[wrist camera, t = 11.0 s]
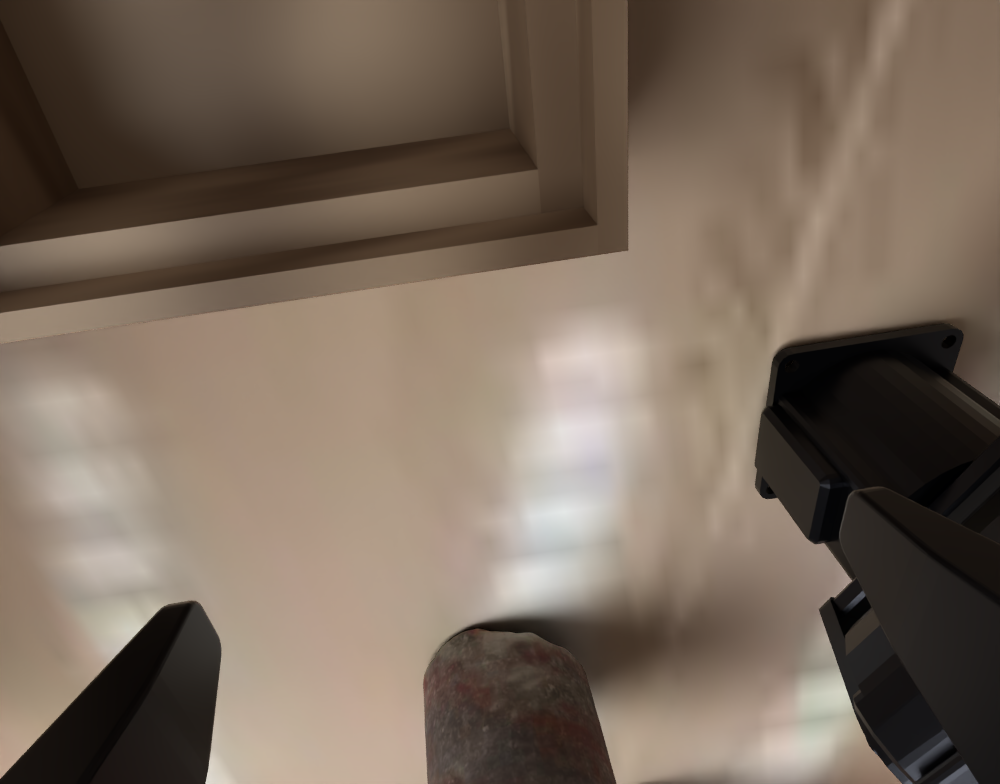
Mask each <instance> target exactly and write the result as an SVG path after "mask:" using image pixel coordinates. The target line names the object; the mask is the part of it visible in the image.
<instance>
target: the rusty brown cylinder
mask: <svg viewBox="0 0 1000 784" xmlns="http://www.w3.org/2000/svg"><path fill="white" fill-rule="evenodd" d="M423 689H424V709H425V736H426V756H427V777H428V784H616V780H615V777H614V773H613V770H612V766H611V763H610V759H609V755H608V751H607V747H606V744H605V740H604V736H603V733H602V729H601V726H600V722H599V719H598V715H597V712H596V708H595V705H594V701H593V697H592V694H591V690H590V687H589V684H588V681H587V677H586V674H585V671H584V669H583V667H582V665H581V664H580V663H579V662H578V661H577V660H576V659H575V658H574V656H573V655H572V654H571V653H570V652H569V651H568V650H567V649H565V648H564V647H560V646H557V645H555V644H552V643H550V642H548V641H546V640H544V639H543V638H541V637H539V636H537V635H536V634H533V633H512V632H498V631H486V630H483V629H478V628H477V629H473V630H469V631H465V632H462V633H460V634H458V635H457V636H455V637H453V638H452V639H451V640H450V641H448V642H447V643H446V644H445V645H444V646H443V647H442V648H441V649H440V651H439V652H438V653H437V654H436V656H435V658H434V660H433V661H432V662H431V663H430V664H429V666H428V668H427V670H426V672H425V675H424V682H423Z"/></svg>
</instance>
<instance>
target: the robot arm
mask: <svg viewBox="0 0 1000 784" xmlns="http://www.w3.org/2000/svg"><path fill="white" fill-rule="evenodd" d="M946 337H947V338H946ZM945 338H946V339H945ZM944 339H945V340H944ZM943 340H944V341H943ZM942 341H943V342H942ZM962 341H963V333H962V331H961V330H959V329H958V328H956V327H954V326H953V325H951V324H939V325H932V326H926V327H919V328H913V329H907V330H900V331H894V332H887V333H881V334H875V335H868V336H862V337H855V338H849V339H843V340H836V341H830V342H823V343H817V344H811V345H804V346H798V347H791V348H787V349H784V350H782V351H780V352H779V353H777V355H776V356H775V357H774V359H773V362H772V367H771V375H770V382H769V389H768V396H767V403H766V407H765V409H764V410H763V412H762V414H761V421H760V428H759V435H758V443H757V450H756V457H755V467H756V468H757V474H756V482H755V488H756V489H757V491H758V492H759V494H760V495H761V496H762V497H763V498H765V499H773V498H778V499H779V500H780V502H781V503H782V505H783V506H784V507H785V509H786V510H787V512H788V513H789V514H790V516H791V517H792V519H793V520H794V521H795V523H796V524H797V526H798V527H799V528H800V530H801V531H802V533H803V534H804V535H805V537H806V538H807V539H808V540H809V541H811V542H812V543H814V544H821V543H825V544H826V546H827V547H828V548H829V550H830V551H831V553H832V554H833V555H834V557H835V558H836V559H837V561H838V562H839V563H840V565H841V566H842V567H843V569H844V570H845V571H846V573H847V574H848V575H849V577H850V578H851V580H852V582H851V583H850V584H849V585H848V586H847V587H846V588H844V589H843V590H842V591H841V592H840V593H839V594H838V595H837V596H836V597H835V598H833V597H831V598H830V599H829V600H828V601H827V602H826V603H825V604H824V605H823V606H822V607H821V608H820V609H819V611H820V614H821V617H822V620H823V623H824V626H825V628H826V631H827V634H828V637H829V640H830V643H831V646H832V649H833V651H834V654H835V657H836V660H837V663H838V666H839V669H840V672H841V674H842V677H843V680H844V683H845V686H846V689H847V692H848V695H849V697H850V700H851V703H852V706H853V709H854V712H855V715H856V717H857V720H858V722H859V724H860V726H861V729H862V731H863V733H864V734H865V737H866V740H867V742H868V744H869V746H870V747H871V749H872V750H873V751H874V752H875V753H876V754H877V755H878V756H879V757H880V758H881V760H882V761H883V762H884V764H885V765H886V766H887V767H888V768H889V770H890V771H891V772H892V773H893V774H894V775H895V776H896V777H897V778H898V779H899V780H900V782H901V783H902V784H1000V406H999V405H997V404H996V403H995V402H993V401H992V400H990V399H989V398H988V397H986V396H985V395H983V394H982V393H981V392H979V391H978V390H976V389H975V388H974V387H972V386H971V385H969V384H968V383H967V382H965V381H964V380H962V379H961V378H960V377H958V376H957V375H955V374H954V373H953V369H954V366H955V363H956V360H957V357H958V354H959V350H960V347H961V344H962ZM792 360H793V362H792V364H790V365H789V366H787V367H785V366H786V364H787V363H788V362H789V361H792ZM768 486H769V487H768ZM220 662H221V643H220V639H219V637H218V634H217V633H216V631H215V629H214V627H213V625H212V624H211V622H210V620H209V618H208V616H207V615H206V613H205V611H204V609H203V607H202V606H201V605H200V603H198V602H196V601H186V602H180V603H174V604H168V605H166V606H164V607H162V608H161V609H160V610H159V611H158V612H157V613H156V614H155V615H154V616H153V617H152V618H151V619H150V620H149V621H148V622H147V624H146V625H145V626H144V627H143V628H142V629H141V630H140V631H139V632H138V633H137V634H136V635H135V636H134V637H133V638H132V639H131V641H130V642H129V643H128V644H127V645H126V646H125V647H124V648H123V649H122V650H121V651H120V652H119V653H118V654H117V655H116V656H115V658H114V659H113V660H112V661H111V662H110V663H109V664H108V665H107V666H106V667H105V668H104V669H103V670H102V671H101V672H100V673H99V675H98V676H97V677H96V678H95V679H94V680H93V681H92V682H91V683H90V684H89V685H88V686H87V687H86V688H85V689H84V690H83V692H82V693H81V694H80V695H79V696H78V697H77V698H76V699H75V700H74V701H73V702H72V703H71V704H70V705H69V706H68V707H67V709H66V710H65V711H64V712H63V713H62V714H61V715H60V716H59V717H58V718H57V719H56V720H55V721H54V722H53V723H52V724H51V726H50V727H49V728H48V729H47V730H46V731H45V732H44V733H43V734H42V735H41V736H40V737H39V738H38V739H37V740H36V741H35V743H34V744H33V745H32V746H31V747H30V748H29V749H28V750H27V751H26V752H25V753H24V754H23V755H22V756H21V757H20V758H19V760H18V761H17V762H16V763H15V764H14V765H13V766H12V767H11V768H10V769H9V770H8V771H7V772H6V773H5V774H4V775H3V777H2V778H1V779H0V784H205V782H206V777H207V772H208V766H209V758H210V751H211V742H212V734H213V725H214V716H215V707H216V698H217V689H218V680H219V671H220Z"/></svg>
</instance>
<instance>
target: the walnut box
mask: <svg viewBox="0 0 1000 784" xmlns="http://www.w3.org/2000/svg"><path fill="white" fill-rule="evenodd" d="M627 250H628V0H0V344H2V343H8V342H15V341H22V340H29V339H35V338H42V337H49V336H56V335H62V334H69V333H76V332H82V331H89V330H96V329H103V328H109V327H116V326H123V325H130V324H136V323H143V322H150V321H156V320H163V319H170V318H177V317H183V316H190V315H197V314H204V313H210V312H217V311H224V310H230V309H237V308H244V307H251V306H257V305H264V304H271V303H278V302H284V301H291V300H298V299H304V298H311V297H318V296H325V295H331V294H338V293H345V292H352V291H358V290H365V289H372V288H378V287H385V286H392V285H399V284H405V283H412V282H419V281H426V280H432V279H439V278H446V277H452V276H459V275H466V274H473V273H479V272H486V271H493V270H500V269H506V268H513V267H520V266H526V265H533V264H540V263H547V262H553V261H560V260H567V259H574V258H580V257H587V256H594V255H600V254H607V253H614V252H621V251H627Z"/></svg>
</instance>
